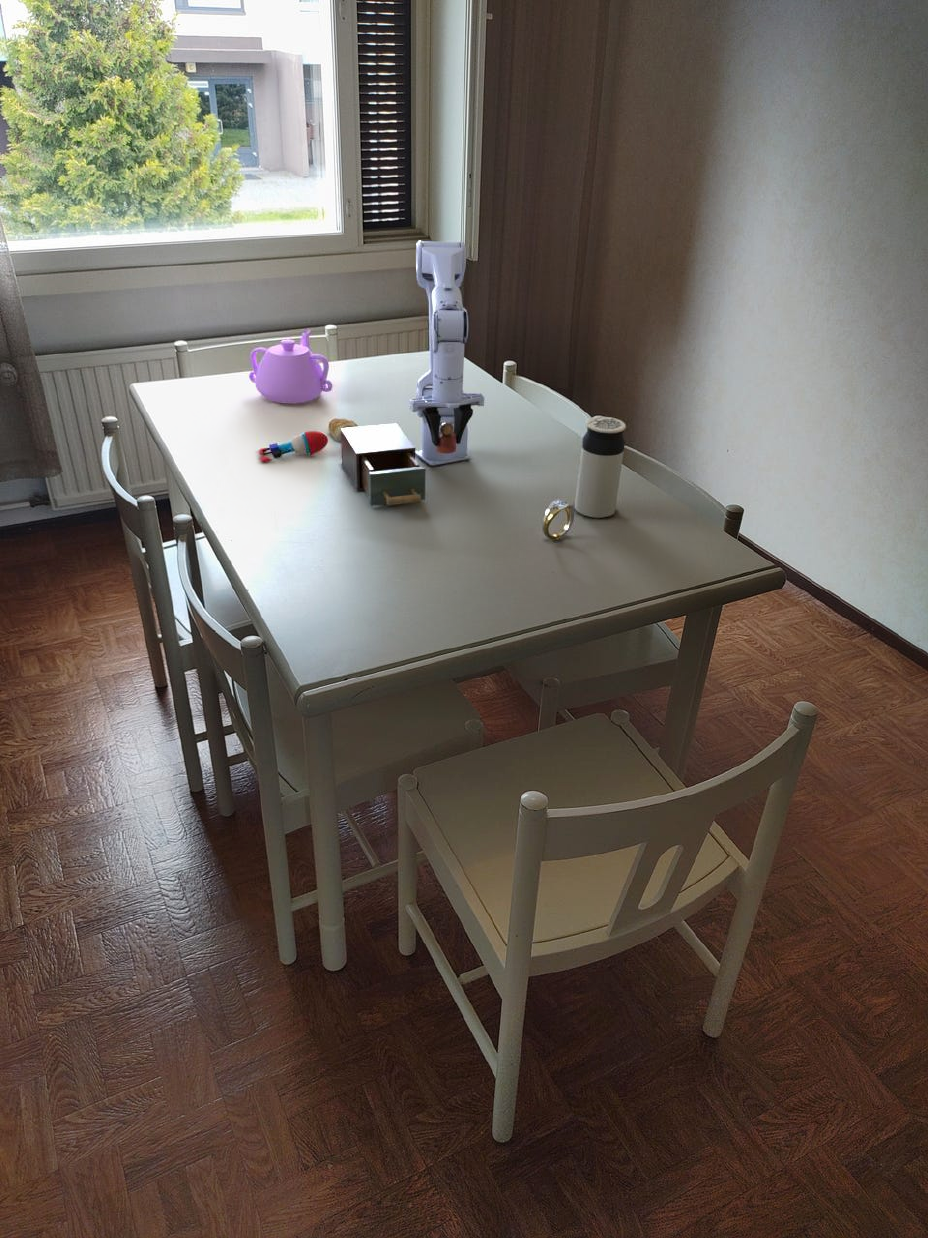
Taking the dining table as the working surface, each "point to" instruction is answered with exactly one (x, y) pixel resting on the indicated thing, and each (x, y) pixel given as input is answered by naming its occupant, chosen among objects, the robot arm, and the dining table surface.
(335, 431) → the pastry
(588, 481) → the travel mug
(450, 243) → the robot arm
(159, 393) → the dining table surface
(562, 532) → the ring
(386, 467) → the drawer
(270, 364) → the teapot
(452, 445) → the doll
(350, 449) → the cabinet
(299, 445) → the toy figure
